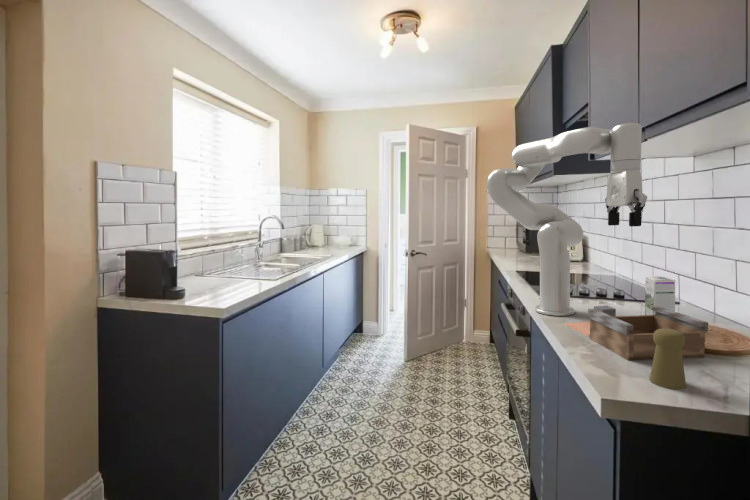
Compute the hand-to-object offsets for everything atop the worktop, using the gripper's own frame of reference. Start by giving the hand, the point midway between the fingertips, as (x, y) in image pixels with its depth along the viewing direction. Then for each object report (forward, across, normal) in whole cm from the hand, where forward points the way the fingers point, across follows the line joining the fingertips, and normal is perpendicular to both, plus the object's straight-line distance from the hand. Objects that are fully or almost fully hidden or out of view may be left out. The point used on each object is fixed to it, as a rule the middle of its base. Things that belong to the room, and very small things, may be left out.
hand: (623, 225), depth 115 cm
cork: (+31, +39, -16) cm, 52 cm away
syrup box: (+31, +2, +10) cm, 32 cm away
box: (+30, +19, -7) cm, 36 cm away
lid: (+31, +3, -7) cm, 32 cm away
